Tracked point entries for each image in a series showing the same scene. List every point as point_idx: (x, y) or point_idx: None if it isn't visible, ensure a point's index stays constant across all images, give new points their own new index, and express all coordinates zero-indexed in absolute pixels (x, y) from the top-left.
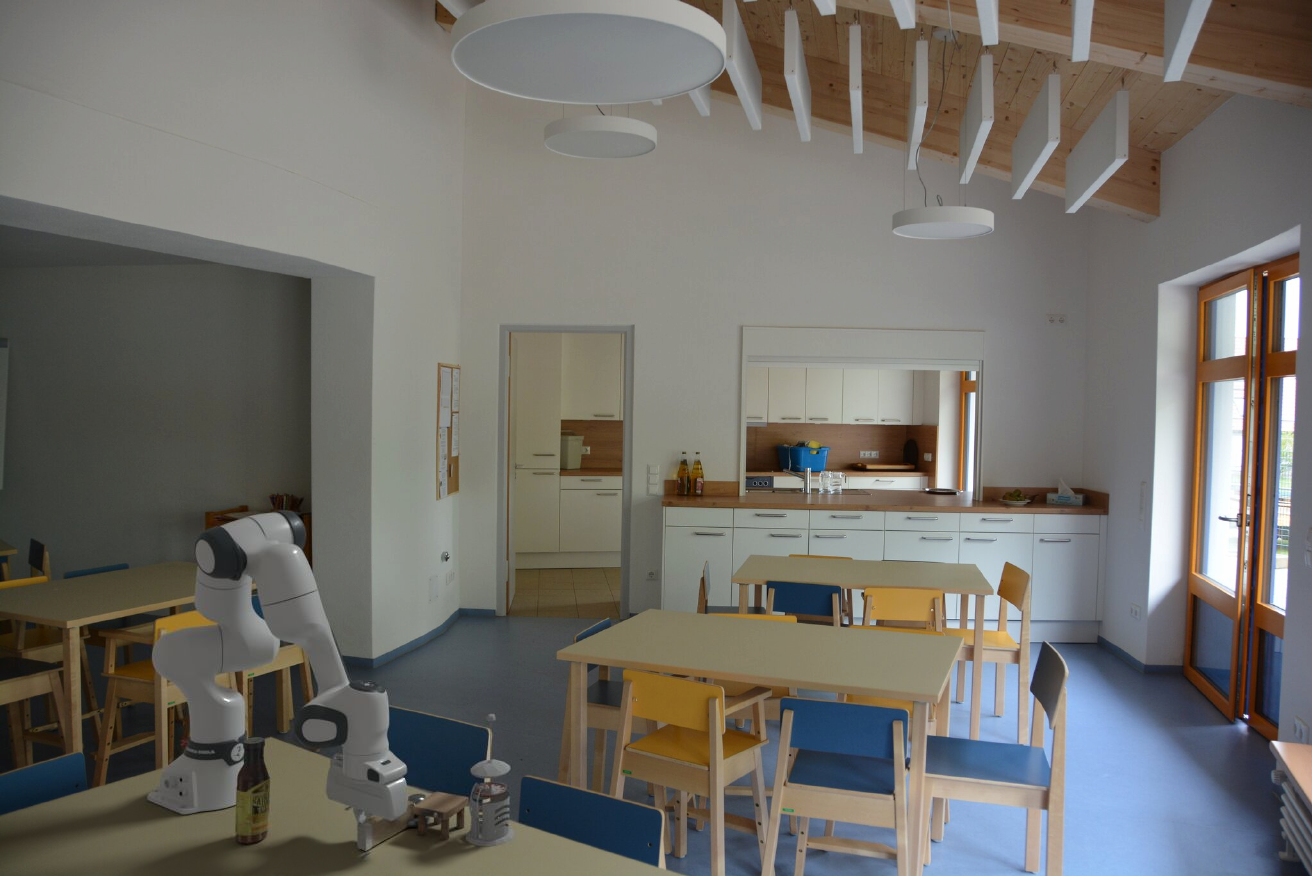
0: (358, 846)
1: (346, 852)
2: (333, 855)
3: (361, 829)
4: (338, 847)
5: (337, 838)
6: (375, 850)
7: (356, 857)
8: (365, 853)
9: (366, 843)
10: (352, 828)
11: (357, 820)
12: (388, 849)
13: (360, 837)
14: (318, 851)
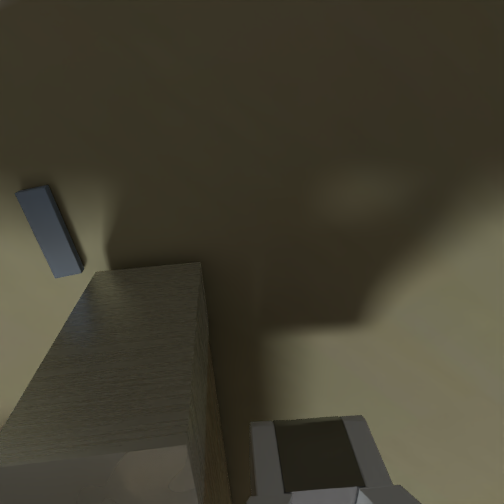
0: (183, 271)
1: (246, 178)
2: (305, 65)
3: (101, 411)
4: (379, 200)
5: (488, 288)
6: None
7: (86, 165)
8: (69, 246)
9: (74, 313)
10: (480, 413)
11: (394, 494)
12: (18, 381)
13: (147, 330)
14: (500, 39)
